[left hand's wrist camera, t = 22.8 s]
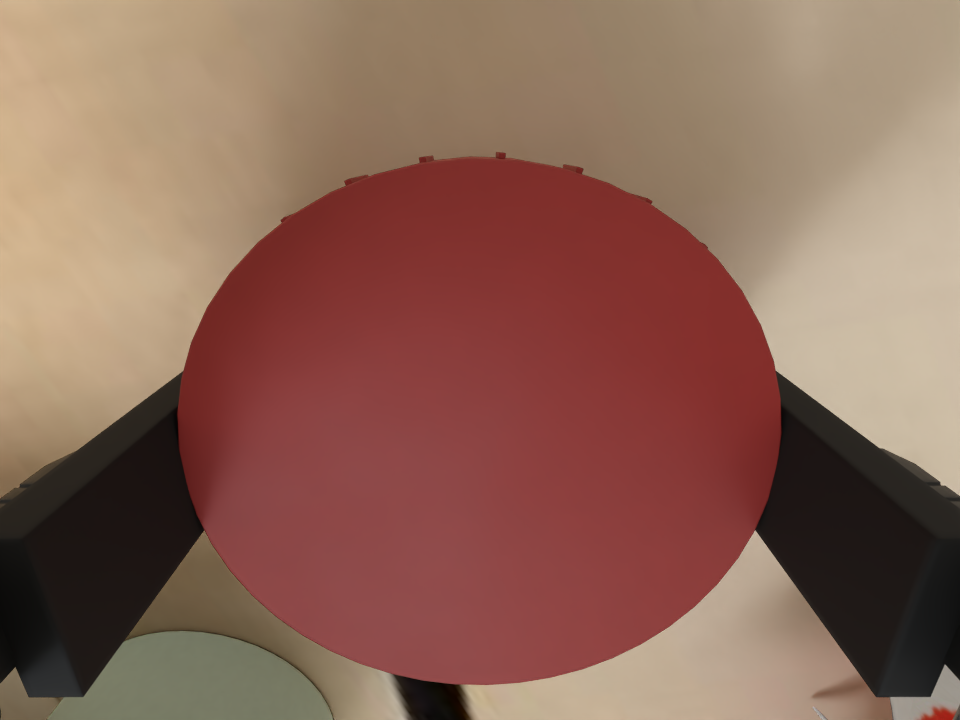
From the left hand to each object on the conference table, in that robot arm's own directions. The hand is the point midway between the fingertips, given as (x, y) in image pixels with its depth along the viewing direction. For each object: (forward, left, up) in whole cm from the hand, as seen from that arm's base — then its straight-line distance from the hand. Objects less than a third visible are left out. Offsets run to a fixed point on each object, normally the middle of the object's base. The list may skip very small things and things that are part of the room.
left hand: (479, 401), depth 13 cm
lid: (0, 0, +3) cm, 3 cm away
